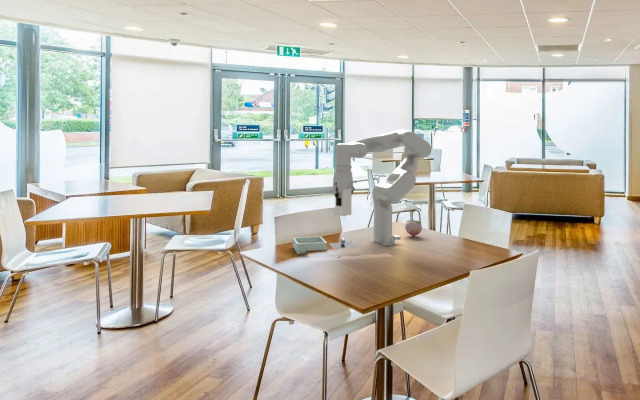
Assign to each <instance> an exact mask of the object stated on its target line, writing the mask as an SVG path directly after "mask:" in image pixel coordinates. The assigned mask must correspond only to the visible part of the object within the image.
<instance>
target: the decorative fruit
mask: <svg viewBox="0 0 640 400" xmlns="http://www.w3.org/2000/svg"><path fill="white" fill-rule="evenodd" d="M422 226H423V225H422V222H421V221H420V220H414V219H413V220H411V219H408V220H406V223H405V226H404V227H405V232H407V234H409V235H410V236H412V237H416V236H418V235H419V234H420V233H421V232H422V230H423V227H422Z"/></svg>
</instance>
